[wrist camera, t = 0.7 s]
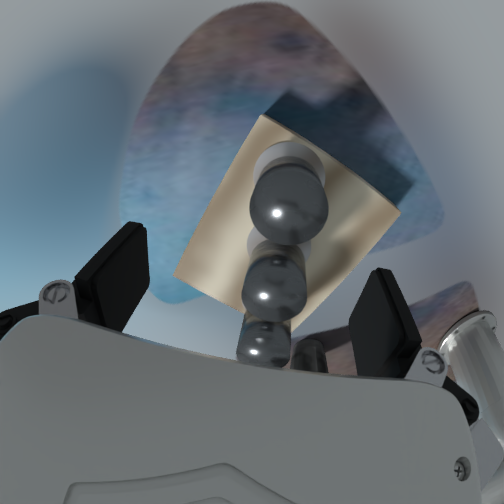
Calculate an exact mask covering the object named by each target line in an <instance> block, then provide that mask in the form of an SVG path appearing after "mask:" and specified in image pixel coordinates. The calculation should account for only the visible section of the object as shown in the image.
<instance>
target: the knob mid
mask: <svg viewBox="0 0 504 504" xmlns="http://www.w3.org/2000/svg"><path fill="white" fill-rule="evenodd" d="M241 298H242V302H243V304H244V306H245V308H246V309H247V310H248V311H249V312H250V313H251V314H252V315H254V316H255V317H257V318H259V319H262V320H265V321H271V322H281V321H286V320H289V319H292V318H294V317H295V316H297V315H298V314H299V313H301V311H302V310H303V309H304V307H305V305H306V302H307V283H306V266H305V257H304V254H303V252H302V250H301V249H300V248H299V247H298V246H297V245H283V244H278V243H275V242H272V241H270V240H268V239H267V240H265V241H263V242H261V243H259V244H258V245H257V246H256V247H255V248H254V249H253V251H252V253H251V256H250V260H249V264H248V268H247V272H246V276H245V280H244V284H243V288H242V292H241Z"/></svg>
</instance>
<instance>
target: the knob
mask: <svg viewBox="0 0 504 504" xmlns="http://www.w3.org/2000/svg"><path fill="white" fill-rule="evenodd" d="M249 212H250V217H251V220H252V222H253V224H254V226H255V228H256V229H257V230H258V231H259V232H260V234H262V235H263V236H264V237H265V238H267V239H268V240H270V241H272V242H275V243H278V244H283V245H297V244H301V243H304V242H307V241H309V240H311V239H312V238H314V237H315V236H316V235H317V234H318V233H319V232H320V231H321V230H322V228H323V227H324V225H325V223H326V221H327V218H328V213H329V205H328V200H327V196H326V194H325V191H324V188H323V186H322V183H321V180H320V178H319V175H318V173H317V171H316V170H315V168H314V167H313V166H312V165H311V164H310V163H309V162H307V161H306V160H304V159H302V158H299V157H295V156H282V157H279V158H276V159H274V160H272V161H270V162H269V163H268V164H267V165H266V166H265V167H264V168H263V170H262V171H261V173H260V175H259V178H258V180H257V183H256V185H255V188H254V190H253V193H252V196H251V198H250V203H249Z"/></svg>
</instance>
